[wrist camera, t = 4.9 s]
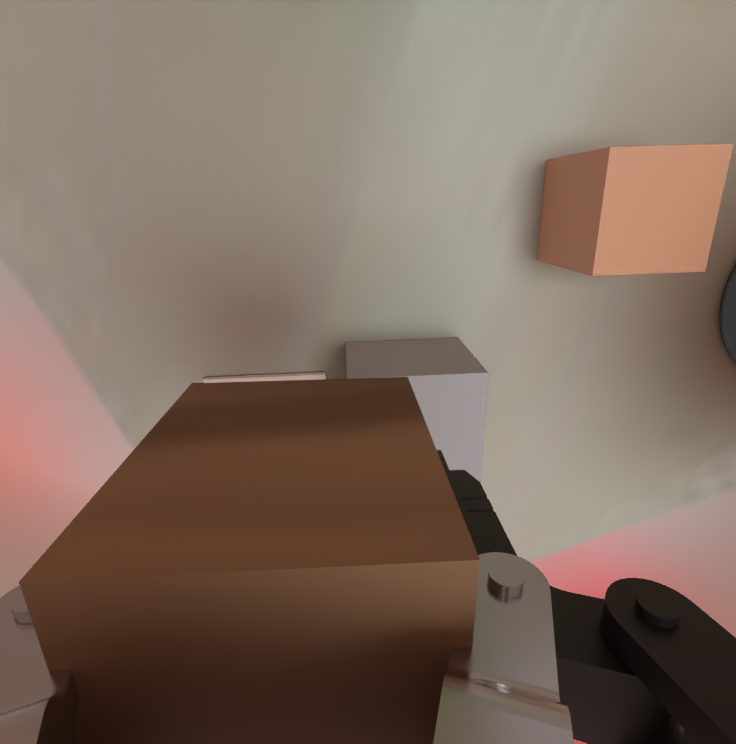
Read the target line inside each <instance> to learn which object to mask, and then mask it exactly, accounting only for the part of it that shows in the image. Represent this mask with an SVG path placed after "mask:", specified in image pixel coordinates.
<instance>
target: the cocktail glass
mask: <svg viewBox="0 0 736 744" xmlns="http://www.w3.org/2000/svg"><path fill="white" fill-rule="evenodd" d="M720 328H721V333H722V338H723V341H724V344H725V346H726V348H727V351H728V352H729V354H730V355H731V357H732V358H733V360H734V361H735V362H736V266H735V268H734V270H733V272H732V274H731V276H730V279H729V281H728V283H727V286H726V289H725V292H724V295H723V299H722V305H721V312H720Z"/></svg>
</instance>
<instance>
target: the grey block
mask: <svg viewBox="0 0 736 744" xmlns="http://www.w3.org/2000/svg"><path fill="white" fill-rule="evenodd" d="M346 370H347V379H354V378H388V377H408V379H409V381H410V384H411V386H412V389H413V391H414V394H415V396H416V399H417V402H418V404H419V407H420V409H421V412H422V414H423V417H424V419H425V422H426V424H427V427H428V429H429V432H430V435H431V437H432V440H433V442H434V445H435V447H436V450H441V451H442V453H443V456H444V458H445V460H446V463H447V465H448V468H449V470H465V471H467V472H468V473H469V474H470V475H472V476H473V477H474V478H475V479H477V480H478V481H479V482H480V484H481V473H482V458H483V443H484V428H485V413H486V399H487V384H488V372H487V371H486V369H485V368H484V367H483V366H482V365H481V364H480V362H479V361H478V360H477V359H476V358H475V357H474V356H473V354H472V353H471V352H470V351H469V350H468V349H467V347H466V346H465V345H464V344H463V343H462V342H461V340H460V339H459V338H458V337H453V338H429V339H406V340H382V341H359V342H346Z"/></svg>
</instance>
